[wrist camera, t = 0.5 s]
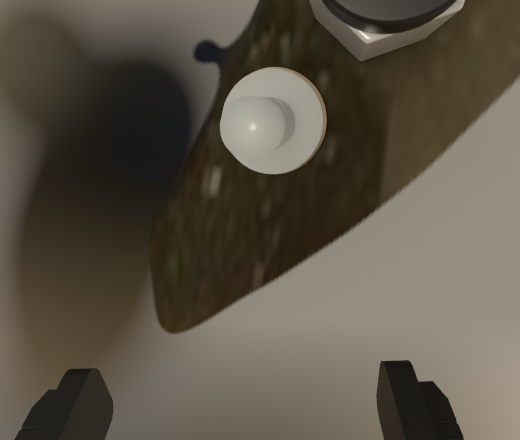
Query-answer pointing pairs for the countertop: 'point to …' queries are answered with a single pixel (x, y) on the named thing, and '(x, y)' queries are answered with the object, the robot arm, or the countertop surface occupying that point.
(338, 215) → the countertop surface
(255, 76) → the lid
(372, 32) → the jar
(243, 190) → the countertop surface
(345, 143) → the countertop surface
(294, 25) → the countertop surface
